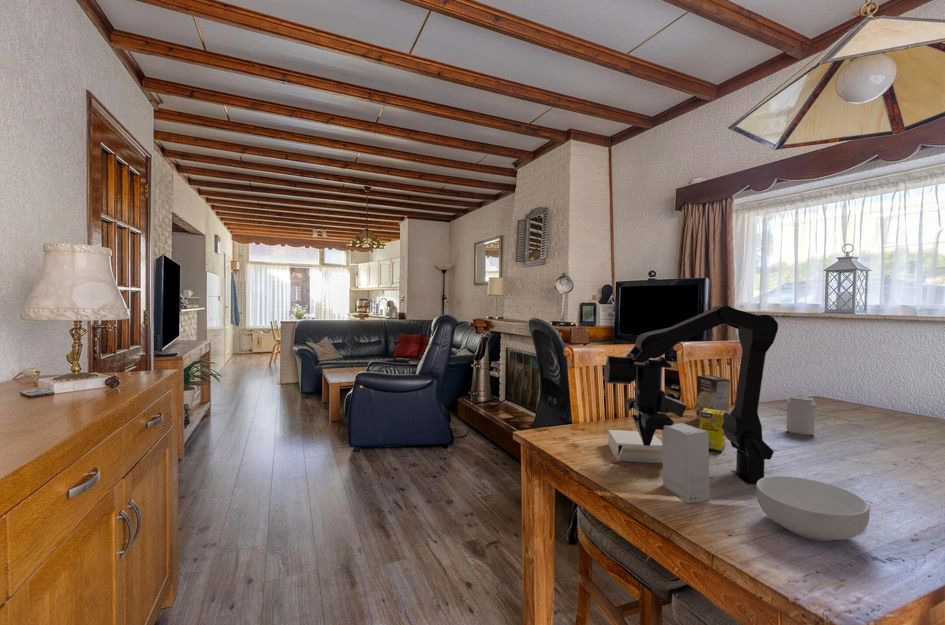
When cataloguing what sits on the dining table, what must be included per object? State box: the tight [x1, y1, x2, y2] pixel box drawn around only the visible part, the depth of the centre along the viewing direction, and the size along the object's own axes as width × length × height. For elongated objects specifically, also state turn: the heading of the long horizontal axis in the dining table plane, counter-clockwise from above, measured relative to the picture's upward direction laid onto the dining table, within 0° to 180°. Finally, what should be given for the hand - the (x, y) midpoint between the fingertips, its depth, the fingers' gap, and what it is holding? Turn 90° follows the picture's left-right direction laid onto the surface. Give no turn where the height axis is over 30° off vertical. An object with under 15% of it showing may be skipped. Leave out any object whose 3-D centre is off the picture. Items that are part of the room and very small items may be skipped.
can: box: [785, 394, 817, 437], centre depth 144 cm, size 8×8×12 cm
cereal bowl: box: [755, 475, 870, 542], centre depth 81 cm, size 17×17×7 cm
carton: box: [607, 429, 662, 460], centre depth 120 cm, size 12×12×5 cm
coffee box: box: [695, 374, 731, 421], centre depth 156 cm, size 9×6×16 cm
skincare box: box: [661, 422, 710, 504], centre depth 96 cm, size 8×6×15 cm
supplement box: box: [699, 408, 726, 454], centre depth 127 cm, size 6×6×11 cm
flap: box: [616, 444, 663, 465], centre depth 110 cm, size 1×12×9 cm
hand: (646, 447), depth 108 cm, fingers closed, pressing on flap
